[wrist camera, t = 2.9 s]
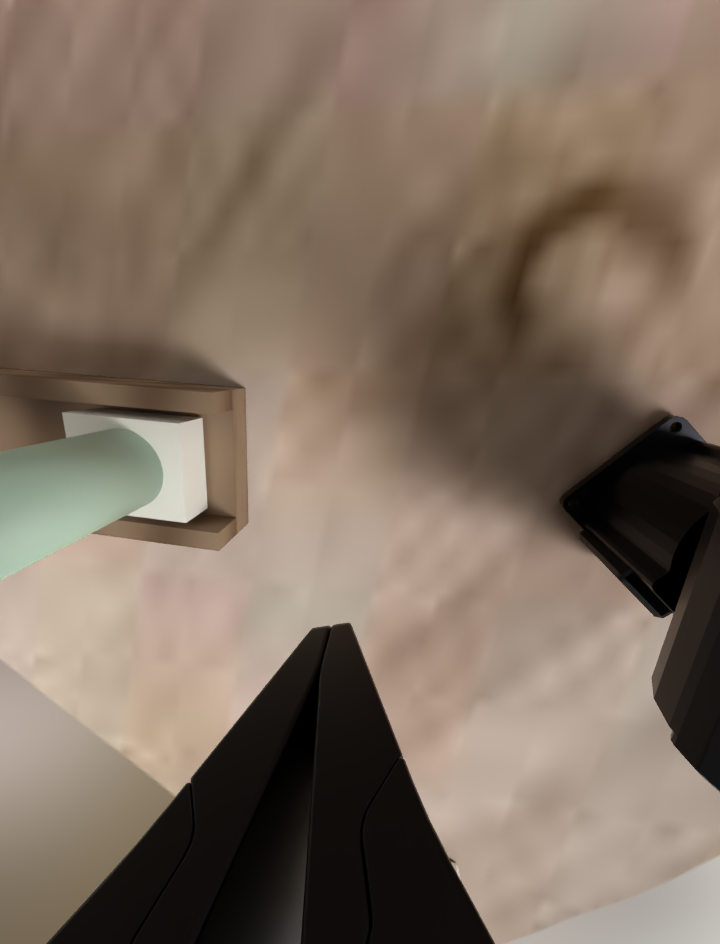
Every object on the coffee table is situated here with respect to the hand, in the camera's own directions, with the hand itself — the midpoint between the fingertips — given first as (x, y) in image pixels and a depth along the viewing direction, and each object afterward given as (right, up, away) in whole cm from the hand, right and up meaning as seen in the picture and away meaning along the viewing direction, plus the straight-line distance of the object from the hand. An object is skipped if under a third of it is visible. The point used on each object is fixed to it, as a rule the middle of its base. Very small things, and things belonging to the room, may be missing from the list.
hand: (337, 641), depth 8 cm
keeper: (-11, +4, +12) cm, 17 cm away
